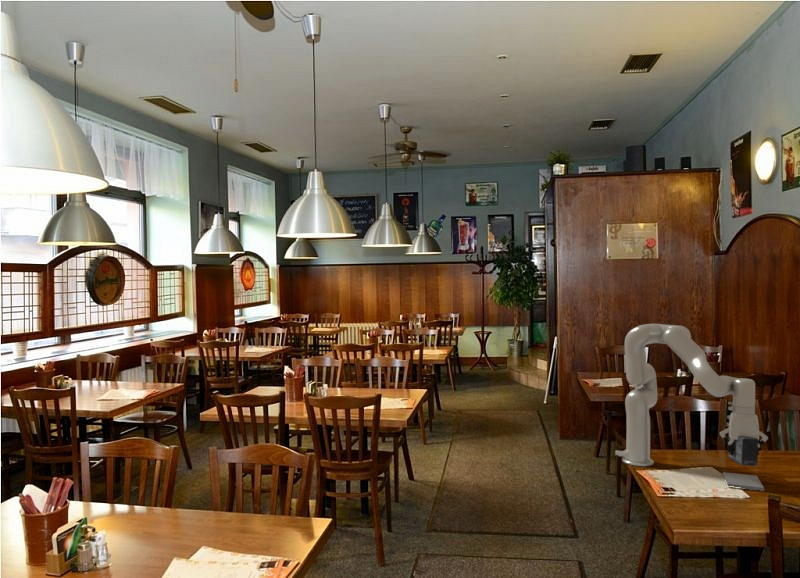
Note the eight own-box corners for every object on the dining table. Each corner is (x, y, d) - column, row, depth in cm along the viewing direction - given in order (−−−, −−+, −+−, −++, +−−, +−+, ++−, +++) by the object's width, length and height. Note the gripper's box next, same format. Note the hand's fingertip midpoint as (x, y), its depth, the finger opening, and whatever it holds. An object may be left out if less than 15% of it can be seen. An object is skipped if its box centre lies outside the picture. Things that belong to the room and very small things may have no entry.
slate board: (727, 487, 233) (728, 483, 233) (722, 475, 247) (722, 472, 247) (764, 491, 228) (764, 487, 228) (756, 479, 242) (756, 475, 242)
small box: (759, 466, 232) (759, 438, 232) (741, 466, 232) (742, 438, 232) (744, 458, 242) (744, 431, 242) (727, 457, 243) (728, 431, 242)
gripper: (719, 410, 237) (719, 455, 237) (771, 414, 230) (770, 460, 231) (717, 406, 244) (716, 450, 244) (767, 410, 237) (766, 455, 238)
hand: (743, 455), depth 237 cm, fingers closed on small box, 7 cm apart
